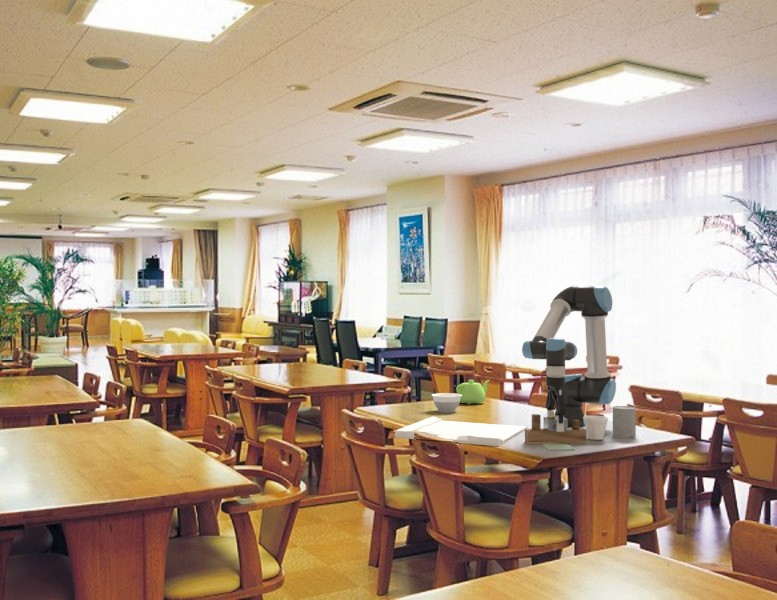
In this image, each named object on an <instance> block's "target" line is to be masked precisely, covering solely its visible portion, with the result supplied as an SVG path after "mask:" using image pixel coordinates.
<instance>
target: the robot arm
mask: <svg viewBox="0 0 777 600" xmlns="http://www.w3.org/2000/svg"><path fill="white" fill-rule="evenodd" d="M549 307H550V309H549V311H548V312H547V314H546V316H545V317H544V319H543V321H542V323H541V324H540V326H539V328H538V330H537V332H536V333H535V334H534V337H533V338H532V340H526V341H524V342H523V344H522V349H521V352H522V356H523V357H524V358H526V359H531V360H546V361H545V363H546V365H545V366H546V367H544V370H545V371H546V373H545V374H546V378H545V385H546V386H547V394H546V401H545V408H546V417H550V415H556V417H557V432H564V418H566V419H568V427H570V428H572V420H580V427H585V424H584V420H583V417H584V416H586V415H585V412H584V410H583V409H584V408H583V404H595V405H610V404H611V403H612V402H613V400H614V398H615V396H616V395H615V394H616V391H617V382H616V380H615V379H614V378H612V376H611V375H612V374H611V373H610V372H609V371H608V362H607V341H606V339H607V338H606V320H605V319H607V317H608V316H609V312H611V311H612V308H613V297H612V293H611V291H610V290H609V288H608V287H607V286H605V285H598V284H595V285H572V286H569V287H567V288H565V289H563V290H561V291H560V292H559V293H558V294H556V296H554V298H553V299H552V301H551V303H550V305H549ZM572 312H580V313H581V317H582V318H583V319H584V321H585V323H584V324H585V341H586V342H585V345H586V346H585V347H586V364H587V371H586V373H584V376H583V374H582V373H573V374H566V361H571V360H573V359H574V358H576V356H577V355H578V348H577V346H576V345H575V344H574V342H570V341H566V340H565V339H564V338H563V337H562V338H561V337H560V338H559V337H555V336H556V335H557V333H558V331H559V330H560V328H561V325H562V324H563V322H564V321H565V318H566V317H568V316H570V314H571V313H572Z"/></svg>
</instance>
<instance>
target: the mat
mask: <svg viewBox="0 0 777 600" xmlns="http://www.w3.org/2000/svg"><path fill="white" fill-rule="evenodd" d="M541 445H542V447H543V448H545V449H546V450H548V451H558V452H559V451H576V448H574V447H572V445H570V444H541Z"/></svg>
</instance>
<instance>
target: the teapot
mask: <svg viewBox="0 0 777 600" xmlns="http://www.w3.org/2000/svg"><path fill="white" fill-rule="evenodd" d="M490 380H491V379H487V380H485V381H484V383H483V385H482V383H480V382H475V380H474V379H468V380H467V381H468V382H462V383H460V384H458V385H457V386H455V387H456V389H455V390H456V394H461V395H462V396H461V397H460V403H462V402H463V403H462V404H466V405H467V404H471V405H472V404H476V403H481V404H482V403H484V402H485V400H486V394H487V392H488V383H489V382H490Z"/></svg>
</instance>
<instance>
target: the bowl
mask: <svg viewBox="0 0 777 600" xmlns="http://www.w3.org/2000/svg"><path fill="white" fill-rule="evenodd" d="M461 396H462V395H461V394H457V393H453V392H451V393H450V392H449V393H448V392H445V393H444V392H441V393H439V392H438V393H437V392H436V393H433V394H431V397H432V398H433V403H434V406H435V408H436V409H437V411H438V412H439V413H446V414H447V413H448V414H449V413H456V410H457V409H458V407H459V405H460V403H461V402H460V397H461Z"/></svg>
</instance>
